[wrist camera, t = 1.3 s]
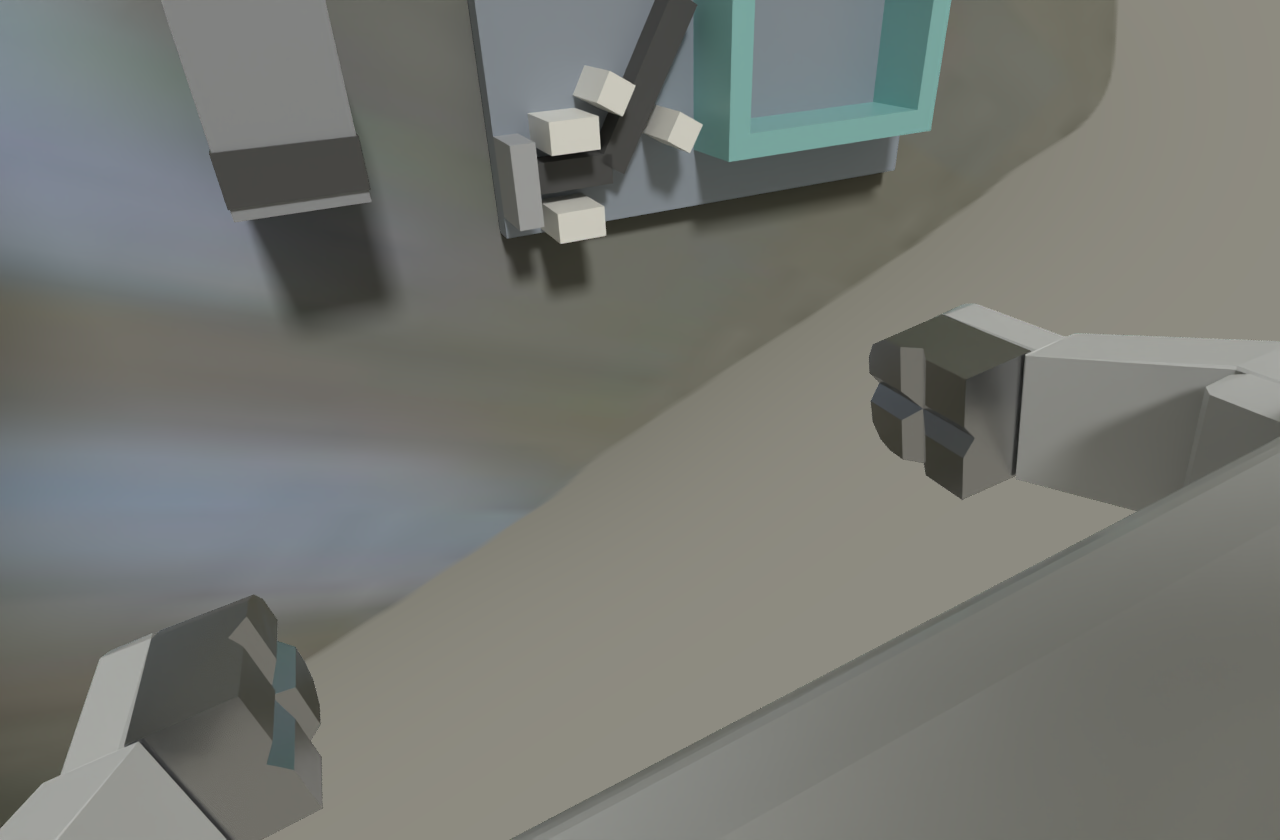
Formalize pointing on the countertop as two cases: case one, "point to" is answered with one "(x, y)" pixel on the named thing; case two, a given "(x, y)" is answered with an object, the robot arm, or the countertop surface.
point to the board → (670, 175)
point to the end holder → (896, 109)
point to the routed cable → (625, 132)
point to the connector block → (270, 104)
